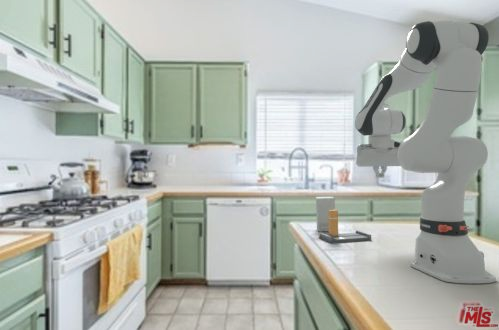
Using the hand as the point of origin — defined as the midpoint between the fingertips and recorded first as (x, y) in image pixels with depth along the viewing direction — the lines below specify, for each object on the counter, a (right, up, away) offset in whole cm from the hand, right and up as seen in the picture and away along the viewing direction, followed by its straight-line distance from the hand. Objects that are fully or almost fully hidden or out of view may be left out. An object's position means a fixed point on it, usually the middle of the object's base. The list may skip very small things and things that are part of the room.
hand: (380, 177), depth 145 cm
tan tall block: (-20, -24, -2) cm, 31 cm away
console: (-15, -25, -1) cm, 29 cm away
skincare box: (-18, -26, +18) cm, 36 cm away
